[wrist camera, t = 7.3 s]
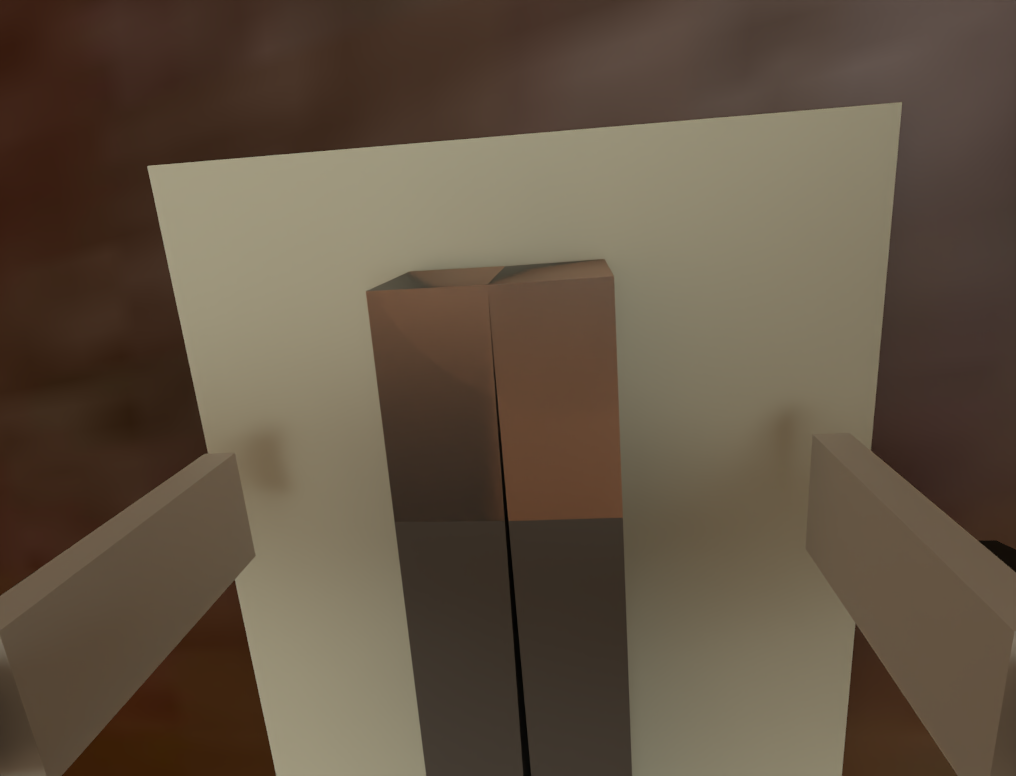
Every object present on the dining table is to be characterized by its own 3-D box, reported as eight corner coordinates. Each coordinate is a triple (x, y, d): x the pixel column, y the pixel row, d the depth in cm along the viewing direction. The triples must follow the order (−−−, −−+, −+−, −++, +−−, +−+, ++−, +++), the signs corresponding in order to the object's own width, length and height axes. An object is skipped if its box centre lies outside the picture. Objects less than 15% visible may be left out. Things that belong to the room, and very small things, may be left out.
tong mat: (886, 106, 15) (902, 102, 14) (807, 1039, 24) (815, 1067, 23) (166, 167, 17) (147, 165, 16) (338, 1009, 26) (331, 1034, 25)
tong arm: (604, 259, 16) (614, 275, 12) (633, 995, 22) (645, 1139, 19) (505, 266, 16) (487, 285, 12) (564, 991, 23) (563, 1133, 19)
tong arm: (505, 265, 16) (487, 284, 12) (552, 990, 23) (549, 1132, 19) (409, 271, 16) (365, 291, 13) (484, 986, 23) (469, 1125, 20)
